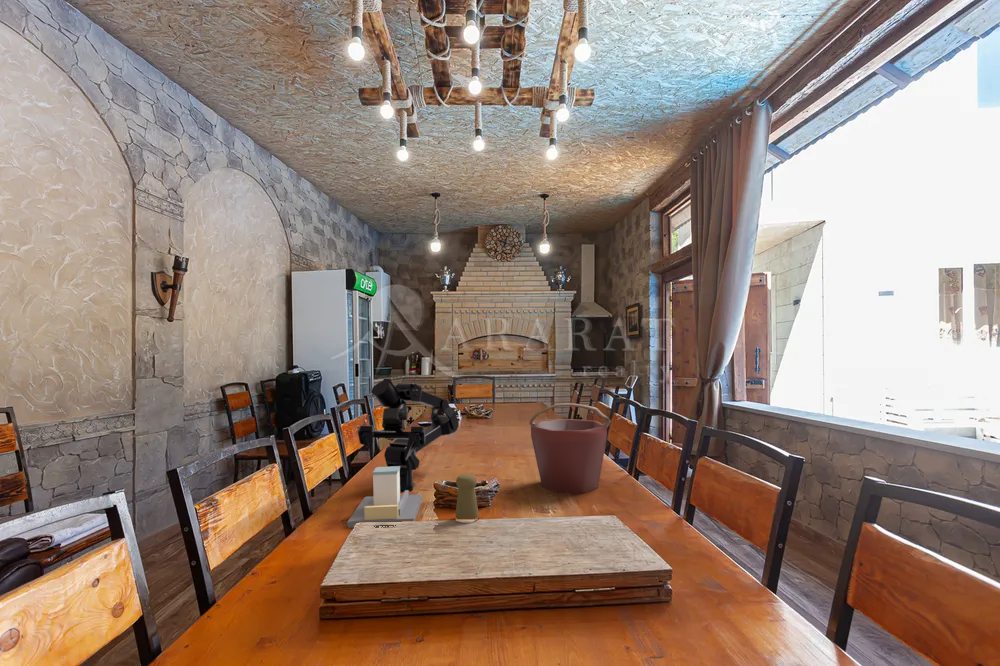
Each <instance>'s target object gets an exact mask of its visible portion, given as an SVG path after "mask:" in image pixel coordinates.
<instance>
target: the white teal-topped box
mask: <svg viewBox="0 0 1000 666" xmlns="http://www.w3.org/2000/svg"><path fill="white" fill-rule="evenodd" d="M372 478H373V479H372V481H373V483H372V485H373V486H372V487H373V489H372V490H373V496H374V506H379V505H398V504H399V502H400V495H401V491H400V466H391V467H387V466H376V467H375V468H374V470H373V471H372Z"/></svg>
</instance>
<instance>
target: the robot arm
mask: <svg viewBox="0 0 1000 666" xmlns="http://www.w3.org/2000/svg"><path fill="white" fill-rule="evenodd" d="M371 394H372V395H373V397H374V398H375V399H376V400H377V401H378V403H379V404H380V406H382V407H383V411H382V418H381V419H382V423H381V424H382V425H381V428H383V429H380V430H379V429H375V428H374V425H365V424H364V425H360V426H359V428H358V431H357V434H358V440H359V444H360V445H363V446H364V447H367V449H368V451H369V458H370V461H373V460H374V454H375V441H376V440H375V439H381V438H382V439H386V440H387V439H388V440H389V439H390V440H394V441H393V442H388V443H389V444H388V446H387V447H386V448H385V451H384V460H385V464H386V467H391V466H400V492H401V491H402V492H403V491H404V492H405V490H409V491H413V490H414V488H415V487H416V482H413V481H414V480H413V479H414V476H413V473H414V472H413V471H415V470H417V469H418V468H419V466H420V459H419V458H418V457H417V456H416V455H417V453H418V452H420V451H421V450H423V449H424V448H426V447H427V446H428V445H429V444H432V443H433V442H434V441H435V440H438V438H440V437H442V436H446V435H447V436H448V435H451V434H454V433H456V432H457V431H458V428H459V419H458V417H457V413H456V412H455V410H454V409H453V408H451V406H450V404H449V401H448V399H446V398H444V397H440V396H438V395H434V394H432V393H429V392H427V391H424V390H423V388H422V387H421V386H420V385H419V384H417V383H415V382H398V383H397V384H396V385H394V383H393V382H392V380H391V378H383V380H382V381H379V382H378V383H377V384H375V385H374V386H372V388H371ZM407 402H414V403H416V404H420V405H421V406H425V407H429V408H430V409H431V416H430V419H431V425H429V426H428V427H427V428H425V427H424V426H413V425H412V426H410V431H404V428H405V421H408V416H409V413H410V409H409V407H408V404H407ZM438 410H440V411H441V410H442V412H443V414H445V415H439V414H438V412H439V411H438Z"/></svg>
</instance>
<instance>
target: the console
mask: <svg viewBox="0 0 1000 666" xmlns="http://www.w3.org/2000/svg"><path fill="white" fill-rule="evenodd" d="M409 491H410V490H405V491H404V492H403V494H400V502H399V504H398V505H379V506H374V495H372V496H365V497H364V498H363V499H362V500H361V502H360V503H359V505H358V506H357V508H356V509H355V511H353V513H352V515H351V516H350V517H349V519H348V521H347V528H348V529H350V528H353V526H354V525H355V524H356V523H359V522H402V521H415V522H416V520H415V519H417V517H418V513H419V510H420V507H421V504H422V501H423V494H421V493H420V494H419V493H417V494H416V493H415V494H409ZM416 516H417V517H416Z"/></svg>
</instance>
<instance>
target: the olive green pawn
mask: <svg viewBox="0 0 1000 666" xmlns="http://www.w3.org/2000/svg"><path fill="white" fill-rule="evenodd" d="M477 481H478V479H477V477H476V476H475V475H474V474H473V473H472V474H471V473H463V474H460V475H458V476H457V477H456V480H455V485H456V487H457V488H458V489H457V499H456V508H455V516H454V518H455V517H456V518H457V519H475V518H477V517H478V516H479V517H480V515H479V507H478V502H477V495H476V488H475V487H476V486H477Z"/></svg>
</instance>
